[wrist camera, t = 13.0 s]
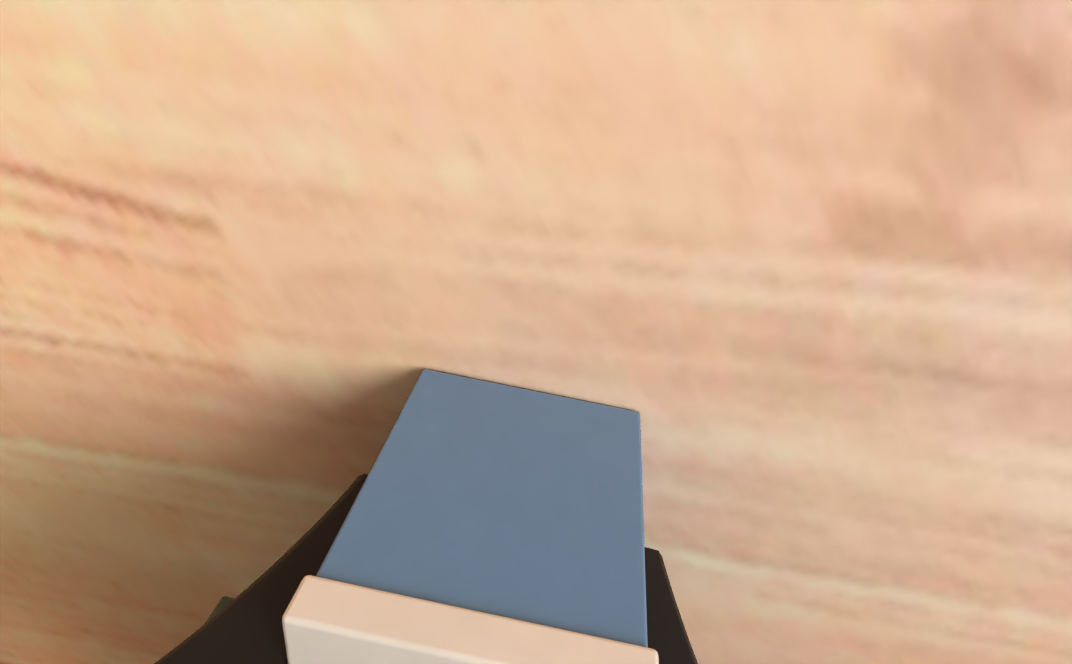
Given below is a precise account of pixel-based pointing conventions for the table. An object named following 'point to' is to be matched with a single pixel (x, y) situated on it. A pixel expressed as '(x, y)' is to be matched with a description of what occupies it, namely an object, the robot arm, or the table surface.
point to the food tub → (487, 538)
